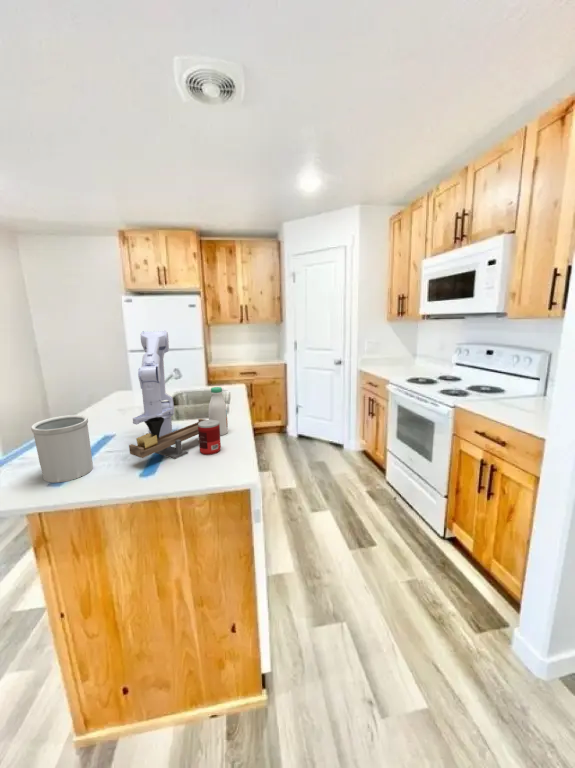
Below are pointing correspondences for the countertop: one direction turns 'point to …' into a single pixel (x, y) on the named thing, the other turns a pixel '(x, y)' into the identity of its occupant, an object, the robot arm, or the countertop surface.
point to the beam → (166, 440)
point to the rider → (147, 441)
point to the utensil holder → (63, 447)
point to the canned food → (209, 436)
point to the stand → (173, 451)
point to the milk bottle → (218, 409)
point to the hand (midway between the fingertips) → (155, 438)
